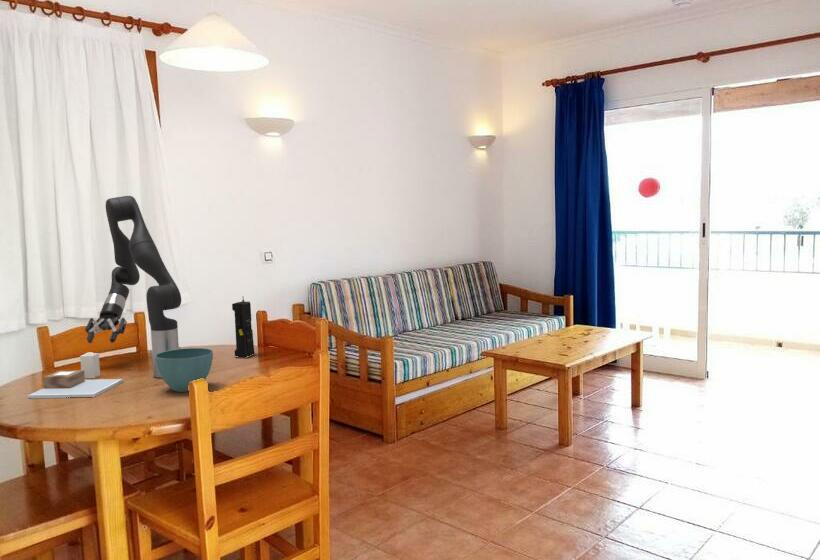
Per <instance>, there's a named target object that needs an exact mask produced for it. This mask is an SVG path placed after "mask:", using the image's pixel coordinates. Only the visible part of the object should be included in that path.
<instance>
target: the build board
mask: <svg viewBox="0 0 820 560" xmlns="http://www.w3.org/2000/svg"><path fill="white" fill-rule="evenodd" d="M122 383H124V379H123V378H115V379H114V378H112V379H111V378H108V379H107V378H105V379H85V377H84V370H81V369H80V370H79V369H78V370H77V369H75V370H57V371H54V372H52V373H50V374H47V375H44V376H43V388H40V389H39V390H37V391H34V392H32V393H30V394H27V395H26V398H31V399H71V398H70V397H93V398H95V396H96V397H98V396H100V395H101V394H103V393H105V392H107V391H108V390H111V389H113V388H114V387H116V386H119V385H120V384H122ZM97 395H98V396H97ZM66 397H67V398H66ZM68 397H69V398H68Z"/></svg>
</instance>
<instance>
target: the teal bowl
mask: <svg viewBox="0 0 820 560" xmlns="http://www.w3.org/2000/svg"><path fill="white" fill-rule="evenodd" d="M155 358H156V363H157V367H158V370H159V372H160V374H161V376H162V380H163V381H164V382H165V384H166V385H167V387H169V388H170V389H171V390H172V391H173V392H176V393H177V392H178V393H187V392H188V393H189V391H188V385H189V382H190V381H193V380H197V379H200V378H204V379H205V380H206V379H207V377H208V376H209V374H210V371H211V367H212V364H213V360H214V359H213V358H214V350H213V349H210V348H205V347H189V348H188V347H187V348H181V349H176V350H169V351H165V352H161V353H158V354H156V355H155Z"/></svg>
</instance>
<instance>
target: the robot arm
mask: <svg viewBox="0 0 820 560" xmlns="http://www.w3.org/2000/svg"><path fill="white" fill-rule="evenodd" d="M105 212H106V219H107V222H108V226H109V232H110V235H111V239H112V243H113V254H114V262H115V263H114V264H116V265H117V266H116V267H114V269H112V272H111V283H110V289H109V292H108V294H107V297H105V301H104V302H103V304H102V308H101V310H100V313H99V317H98V318H97V319H94V318H93V317H91V318H90V319H89V321H88V323H87V325H85V326H86V327H85V328H84V332H86V334H87V337H86V341H87V342H88V343H89V344H92V343H93V341H94V338H95V335H96V334H97V333H100V332H102V331H106V330H107V331H111V330H112V332H111V333H110V334H111V335H110V337H109V341H110V343H111V344H113V343H114V342H116V340H117V338H118V336H119V334H121V335H122V334H124V333H125V330H126V326H127V323H128V322H127V320H126V318H125V317H122V315H123V313H124V310H125V306H126V303H127V300H128V296H129V294H130V289H129V287H128V286H135V285H137V284H138V283H139V281H140V277H141V276H140V271H139V269H138V268H140V269H141V270H142V271H143V272H145V274H147V275H149V276H150V277H151V278H153V279H154V280H155V281H156V283H157V284H158V285H153V286H150V287H148V289H147V291H146V306H147V314H148V321H149V325H150V338H151V340H150V341H151V352H152V353H151V355H152V368H153V369H152V370H153V371H152V372H153V377H154V378H157V379H158V378H159V379H161V378H162V376H161V374H160V372H159V370H158V367H157V363H156V358H155V355H156V354H158V353H161V352H165V351H169V350H176V349H182V347H180V345H179V344H180V343H179V330H178V329H179V328H178V327H179V326H178V321H177V320H176V319H174V318H170V317H166V316H165V314H164V311H169V310H174V309H178V308H179V307H180V306H181V304H182V295H181V292H180V289H179V287H178V285H177V284H176V282H175V280H174V279H173V277H172V276H171V273H170V272H169V270H168V269H167V267H166V265H165V263H164V261H163V259H162V257H161V255H160V252H159V249H158V248H157V245H156V243H155V241H154V240H153V238H152V236H151V233H150V232H149V229H148V227H147V224H146V222H145V220H144V217H143V215H142V212H141V209H140V206H139V204H138V202H137V200H136V198H135V197H134V196H132V195H123V196H117V197H110V198H107V199H106V201H105ZM130 220H131V222H132V223H133V229H132V233H131V236H130V239H129V238H128V236H127V235H126V234H125V233H124V232H123V231H122V230H121V229H120V227H119V222H123V221H124V222H125V221H130ZM127 285H128V286H127ZM118 325H119V326H118ZM117 326H118V328H117ZM162 379H163V378H162Z"/></svg>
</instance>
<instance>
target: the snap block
mask: <svg viewBox="0 0 820 560" xmlns="http://www.w3.org/2000/svg"><path fill="white" fill-rule="evenodd" d="M99 354H100V353H99V352H93V351H91V352H89V351H88V352H85V353H84V354H82V355H80V357H79V360H80V370H84V377H85V378H94V379H96V378H98V377H101V368H100V355H99ZM97 376H98V377H97Z"/></svg>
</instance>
